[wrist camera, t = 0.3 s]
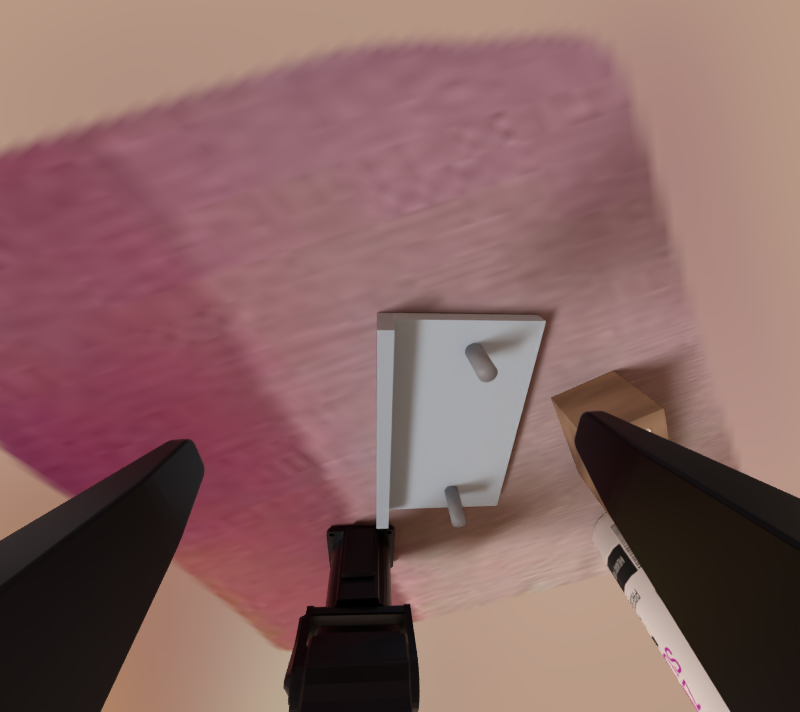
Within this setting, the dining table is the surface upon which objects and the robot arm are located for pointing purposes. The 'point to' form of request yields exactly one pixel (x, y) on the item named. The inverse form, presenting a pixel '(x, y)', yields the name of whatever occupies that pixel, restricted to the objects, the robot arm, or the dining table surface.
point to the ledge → (449, 407)
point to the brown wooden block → (613, 399)
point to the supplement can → (656, 617)
